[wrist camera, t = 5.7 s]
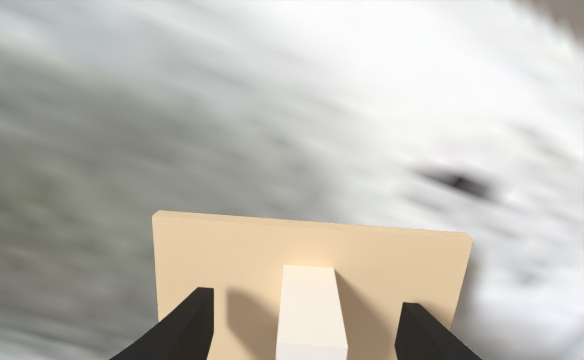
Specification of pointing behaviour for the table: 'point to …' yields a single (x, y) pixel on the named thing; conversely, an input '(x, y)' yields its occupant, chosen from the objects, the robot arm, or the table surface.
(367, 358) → the lid
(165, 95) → the table surface
